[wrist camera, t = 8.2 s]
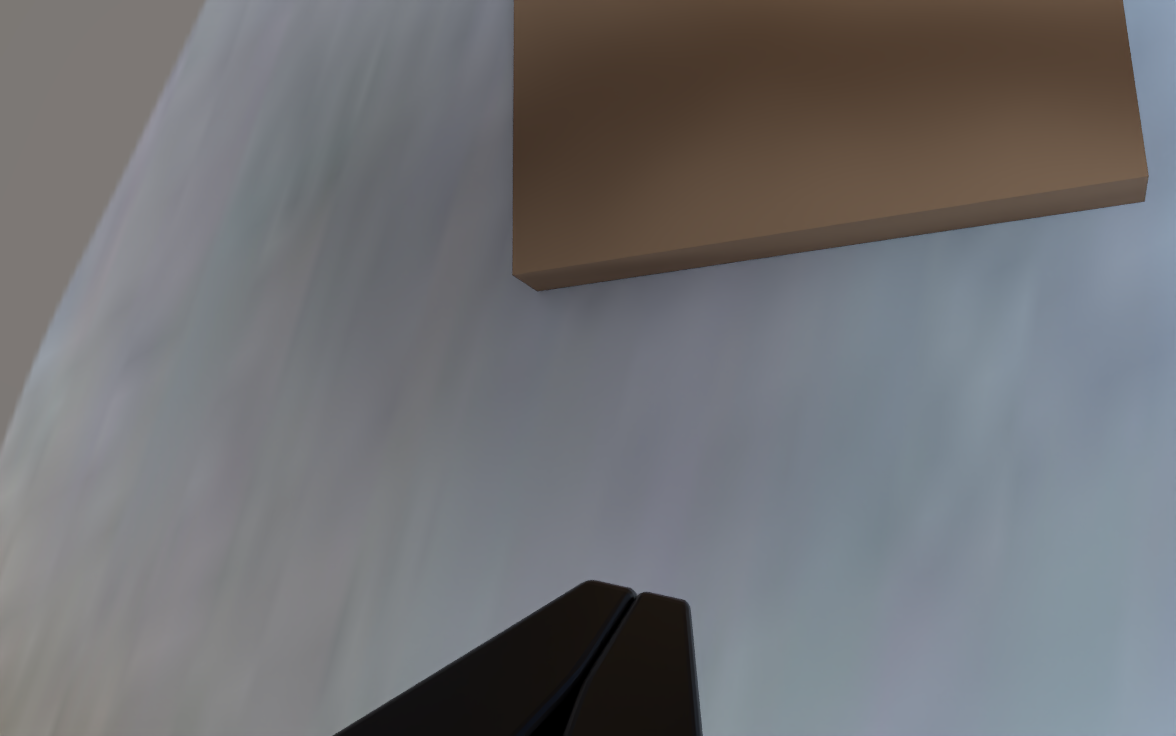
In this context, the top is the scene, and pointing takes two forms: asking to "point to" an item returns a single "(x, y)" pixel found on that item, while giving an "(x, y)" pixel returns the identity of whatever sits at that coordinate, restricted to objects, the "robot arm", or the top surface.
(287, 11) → the top surface
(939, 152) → the walnut sill
